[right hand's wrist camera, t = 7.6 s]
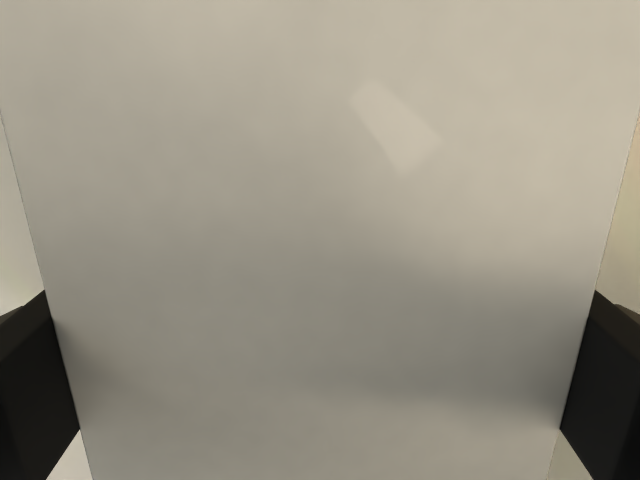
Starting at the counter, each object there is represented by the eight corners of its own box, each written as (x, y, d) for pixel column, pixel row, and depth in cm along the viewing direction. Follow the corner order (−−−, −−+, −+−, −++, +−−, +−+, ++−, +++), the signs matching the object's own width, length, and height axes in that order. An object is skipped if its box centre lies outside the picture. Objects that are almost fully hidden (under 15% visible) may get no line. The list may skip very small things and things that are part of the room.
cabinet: (160, -172, 14) (-224, -758, 4) (480, -172, 14) (863, -759, 4) (210, 315, 20) (107, 543, 10) (429, 316, 20) (531, 544, 10)
